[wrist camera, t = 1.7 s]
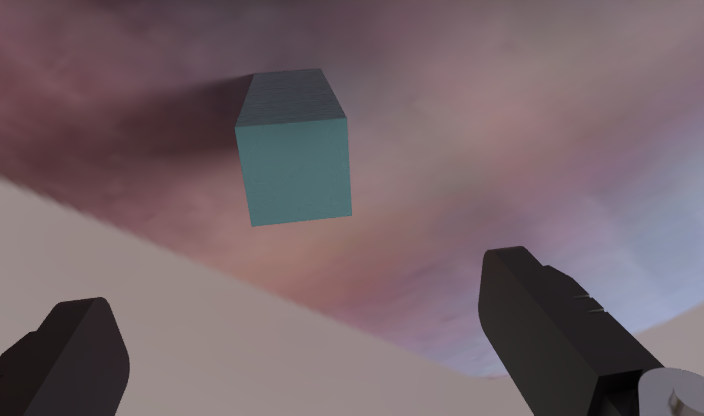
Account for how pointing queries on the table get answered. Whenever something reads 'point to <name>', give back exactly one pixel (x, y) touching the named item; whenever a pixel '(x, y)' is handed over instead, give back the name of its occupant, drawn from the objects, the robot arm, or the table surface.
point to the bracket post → (293, 149)
